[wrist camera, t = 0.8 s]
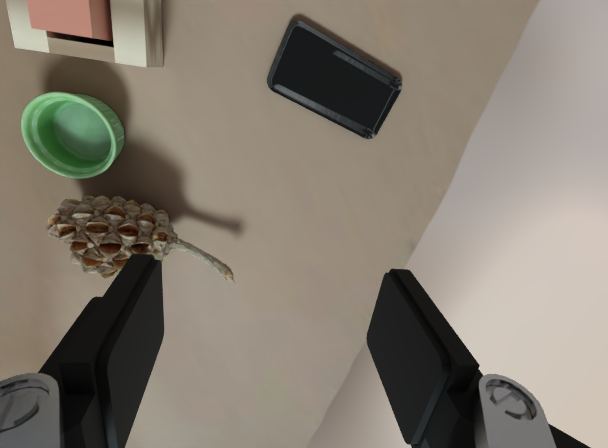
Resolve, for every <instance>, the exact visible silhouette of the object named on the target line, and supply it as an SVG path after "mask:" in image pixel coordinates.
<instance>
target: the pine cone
mask: <svg viewBox="0 0 608 448" xmlns="http://www.w3.org/2000/svg"><path fill="white" fill-rule="evenodd" d="M57 210H58V211H59V214H58V213H57V214H56V215H52V216H50V217H49V218H48V219H47V220H48V221H49V222H48V223H47V227H46V231H47V235H48V236H49V237H55V238H56V239H57V240H60V241H62V242H64V243H65V242H66V243H68V244H71V247H70V250H71V251H72V254H71V262H72V263H75V264H81V266H82V270H83V271H84V272H85V273H89V274H94V273H99V274H100V275H101V276H102V277H104V278H108V277H110V276H112V275H114V274H116V275H118V274H119V272H120V271H121V269H122V268H123V266H124V265H125V263H126V262H127V260H128V259H129V257H130V256H131V255H132V254H134V253H136V254H152V255H154V257H155V260H161V265H162V261H163V258H165V257H166V256H167V254H169V253H170V252H172V251H173V249H177V250H180V251H184V252H187V253H189V254H191V255H193V256H195V257H196V258H198V259H200V260H202V261H204V262H205V263H207V264H209V265H210V266H211V267H213V268H214V269H215V270H217V271H218V272H219V273H220V274H221V275H222V277H223V279H225V280H229V281H231V282H233V283H235V281H234V280H233V278H234V275H233V273H232V271H231V269H230V268H229V267H228V266H227V265H226V264H224V263H222V262H221V261H220V260H218V259H217V258H215V257H213V256H212V255H210V254H208V253H206V252H204V251H202V250H201V249H199V248H197V247H195V246H194V245H192V244H190V243H187V242H185V241H183V240H181V239H178V237H177V234H176V233H175V232H174V231H173V230H174V228H173V226H172V225H169V218H168V214H167V213H166V212H165V211H164V210H159V211H156V210H155V209H154V208H153V207H152V206H151V205H149V204H147V203H145V204H143V205H141V206H140V205H139V204H138V203H136V202H135V201H134V200H130V201H128V202H126V200H125V199H124V198H122V197H120V196H116V197H113V198H112V199H111V200H110V199H109V198H107V197H105V196H103V195H102V196H99V197H96V198H94V197H93V196H88V195H83V198H82V201H78V200H76V199H65V200H64V201H63V203H62V204H61V206H60V207H59V208H58V209H57ZM235 284H236V283H235Z"/></svg>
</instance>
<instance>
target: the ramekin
mask: <svg viewBox="0 0 608 448" xmlns="http://www.w3.org/2000/svg"><path fill="white" fill-rule="evenodd" d="M21 130H22V135H23V138H24V141H25V143H26V145H27V147H28V149H29V150H30V152H31V153H32V154H33V156H34V157H35V158H36V159H37V160H38V161H39V162H40V163H41V164H43V165H44V166H45V167H47V168H48V169H50V170H51V171H53V172H55V173H57V174H60V175H62V176H65V177H69V178H75V179H85V178H91V177H94V176H97V175H99V174H101V173H103V172H104V171H106V170H107V169H108V168H109V167H110V165H111V164H112V163H113V161H114V160H115V159H116V158H117V156H118V155H119V154H120V152H121V150H122V148H123V145H124V130H123V126H122V124H121V122H120V120H119V118H118V117H117V115H116V114H115V113H114V111H113V110H112V109H111V108H110V107H108V106H107V105H106V104H105V103H103V102H102V101H100V100H98V99H96V98H94V97H91V96H88V95H82V94H71V93H66V92H49V93H45V94H42V95H39V96H37V97H36V98H34V99H33V100H32V101H30V102H29V104H28V105H27V106H26V108H25V110H24V112H23V114H22V119H21Z"/></svg>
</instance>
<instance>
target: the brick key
mask: <svg viewBox="0 0 608 448" xmlns="http://www.w3.org/2000/svg"><path fill="white" fill-rule="evenodd" d="M27 6H28V11H29V17H30V23H31V28H33V29H39V30H45V31H51V32H57V33H64V34H70V35H76V36H82V37H88V38H95V39H101V40H107V41H113V30H112V18H111V6H110V0H27Z"/></svg>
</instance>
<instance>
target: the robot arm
mask: <svg viewBox="0 0 608 448" xmlns="http://www.w3.org/2000/svg"><path fill="white" fill-rule="evenodd" d="M163 336H164V314H163V289H162V265H161V260H155V257H154V255H152V254H136V253H134V254H132V255H131V256H130V257H129V259H128V260H127V262H126V263H125V265H124V266H123V268H122V269H121V271H120V272H119V274H118V275H117V277H116V278H115V280H114V281H113V282H112V284H111V285H110V287H109V288H108V290H107V291H106V293H105V294H104V296H103V297H94V298H92V299H91V300H90V302H89V303H88V304H87V306H86V307H85V308H84V310H83V311H82V312H81V314H80V315H79V317H78V318H77V319H76V321H75V322H74V324H73V325H72V326H71V328H70V329H69V330H68V332H67V333H66V335H65V336H64V337H63V339H62V340H61V342H60V343H59V344H58V346H57V347H56V348H55V350H54V351H53V353H52V354H51V355H50V357H49V358H48V360H47V361H46V362H45V364H44V365H43V366H42V368H41V369H40V371H39V372H38V373H26V374H21V375H16V376H13V377H10V378H8V379H5V380H2V381H0V448H125V445H126V442H127V440H128V437H129V434H130V431H131V428H132V425H133V423H134V420H135V417H136V414H137V411H138V408H139V406H140V403H141V400H142V397H143V394H144V392H145V389H146V386H147V383H148V380H149V377H150V375H151V372H152V369H153V366H154V363H155V360H156V358H157V355H158V352H159V349H160V346H161V343H162V340H163ZM367 345H368V347H369V350H370V353H371V355H372V358H373V360H374V363H375V366H376V368H377V371H378V373H379V376H380V379H381V381H382V384H383V386H384V389H385V391H386V394H387V397H388V399H389V402H390V405H391V407H392V410H393V412H394V415H395V418H396V420H397V423H398V425H399V428H400V431H401V433H402V436H403V438H404V440H405V442H406V443H407V444H411V446H412V448H590V447H588V446H587V445H585V444H583V443H581V442H580V441H578V440H576V439H574V438H573V437H571V436H569V435H568V434H566V433H564V432H562V431H561V430H559V429H557V428H555V427H553V426H552V425H550V424H548V422H547V419H546V417H545V414H544V411H543V409H542V407H541V405H540V403H539V402H538V400H536V398H535V397H534V396H533V394H532V393H530V392H529V391H528V390H527V389H526V388H525V387H523V386H522V385H520V384H519V383H517V382H516V381H514V380H512V379H509V378H507V377H505V376H501V375H497V374H487V375H485V376H483V375H482V373H481V372H480V370H479V369H478V368H479V364H478V363H477V361H476V360H475V359H474V357H473V356H472V354H471V353H470V352H469V350H468V349H467V348H466V346H465V345H464V343H463V342H462V341H461V339H460V338H459V337H458V335H457V334H456V333H455V331H454V330H453V328H452V327H451V326H450V325H449V323H448V322H447V320H446V319H445V318H444V316H443V315H442V313H441V312H440V311H439V309H438V308H437V307H436V305H435V304H434V303H433V301H432V300H431V298H430V297H429V296H428V294H427V293H426V292H425V290H424V289H423V287H422V286H421V285H420V283H419V282H418V281H417V280H416V278H415V277H414V275H413V274H412V273H411V271H410V270H405V269H391V270H390V271H389V273H385V275H384V277H383V280H382V284H381V287H380V291H379V294H378V298H377V301H376V305H375V308H374V312H373V315H372V319H371V322H370V326H369V329H368V332H367Z"/></svg>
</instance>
